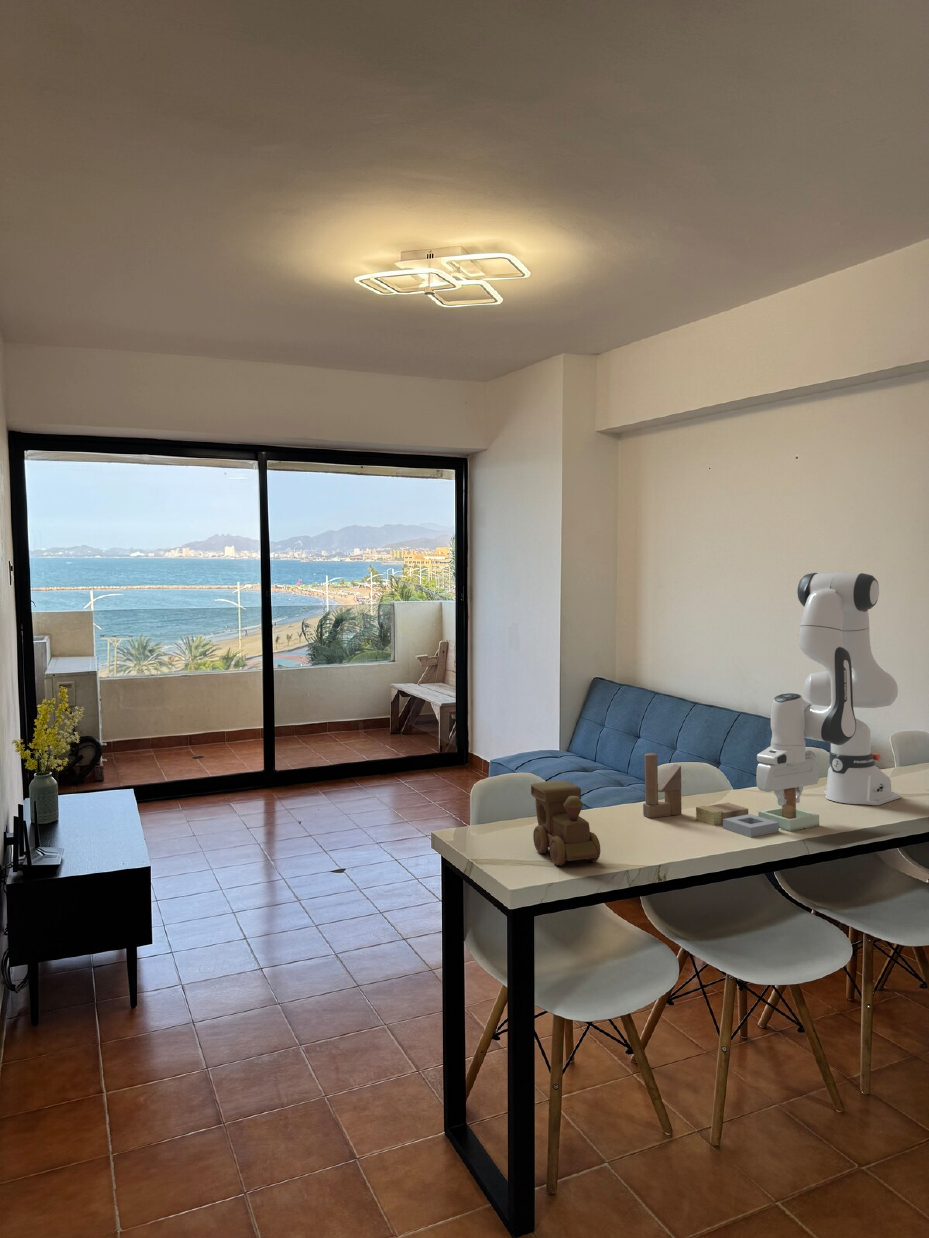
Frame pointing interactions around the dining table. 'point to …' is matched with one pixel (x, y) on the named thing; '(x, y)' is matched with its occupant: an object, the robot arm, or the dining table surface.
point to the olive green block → (709, 815)
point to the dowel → (789, 803)
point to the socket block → (750, 825)
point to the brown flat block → (730, 810)
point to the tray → (800, 822)
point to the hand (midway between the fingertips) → (788, 803)
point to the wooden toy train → (562, 823)
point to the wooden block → (661, 789)
